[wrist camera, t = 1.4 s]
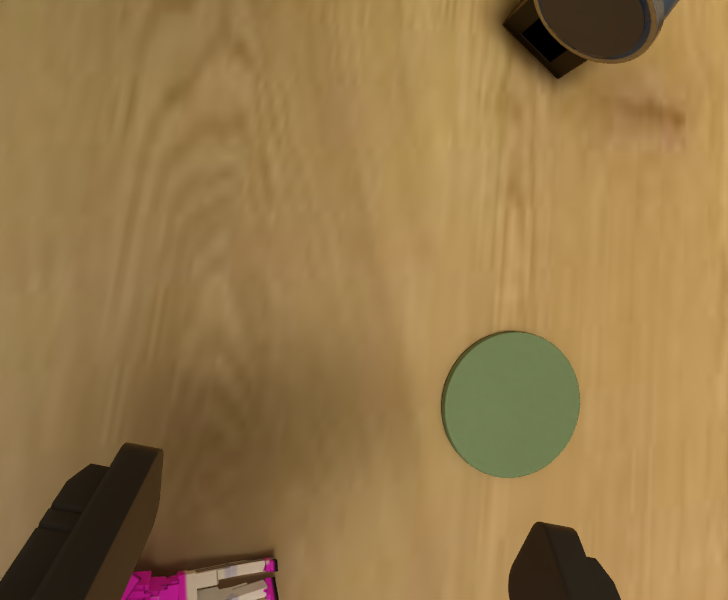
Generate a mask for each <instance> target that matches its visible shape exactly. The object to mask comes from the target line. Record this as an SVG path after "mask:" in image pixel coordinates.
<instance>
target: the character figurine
mask: <svg viewBox="0 0 728 600" xmlns="http://www.w3.org/2000/svg"><path fill="white" fill-rule="evenodd" d="M263 571H266V572H269V571H270V572H276V571H278V565H277V560H276V559H275V558H274V557H268V558H260V559H253V560H247V561H246V560H243V561H236V562H230V563H226V564H221V565H216V566H211V567H206V568H201V569H196V570H190V571H187V570H184V571H179V572H176V575H172V576H168V578H166V576H164V577H151V574H152V572H151V571H139V572H133V574H132V576H131V578H130V580H129V583H128V585H127V587H126V589H125V592H124V594H123V596H122V599H121V600H257V599H260V598H262V597H266V600H279V598H278V592H277V587H276V581H275V577H272V578H265V581H264V580H263V579H262V580H259V581H256V582H253V583H250V584H247V582H246V583H242V584H239V585H236V586H233V587H229V588H224V589H218V587H213V588H208V589H202V590H197V589H198V588H203V587H208V586H213V585H218V584H219V580H220V579H225V578H230V577H234V576H240V575H246V574H252V573H258V572H263Z"/></svg>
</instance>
